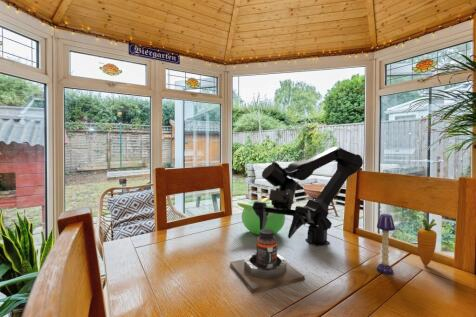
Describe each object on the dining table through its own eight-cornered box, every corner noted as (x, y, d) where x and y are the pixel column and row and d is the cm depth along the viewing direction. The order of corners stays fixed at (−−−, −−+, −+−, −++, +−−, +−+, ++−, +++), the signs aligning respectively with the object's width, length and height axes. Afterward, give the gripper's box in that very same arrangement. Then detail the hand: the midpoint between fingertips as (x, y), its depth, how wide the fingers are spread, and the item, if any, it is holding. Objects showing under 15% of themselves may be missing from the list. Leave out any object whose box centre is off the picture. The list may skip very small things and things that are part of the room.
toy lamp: (371, 268, 79) (373, 213, 78) (382, 265, 81) (384, 212, 80) (386, 275, 75) (388, 218, 74) (397, 272, 77) (399, 216, 75)
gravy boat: (290, 231, 111) (291, 197, 109) (273, 245, 96) (274, 206, 95) (253, 224, 120) (253, 192, 119) (232, 236, 106) (232, 200, 105)
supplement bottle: (276, 274, 73) (276, 235, 73) (255, 272, 75) (255, 233, 74) (277, 264, 79) (277, 228, 79) (257, 263, 81) (257, 226, 80)
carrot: (432, 263, 82) (434, 216, 81) (438, 270, 77) (440, 221, 76) (413, 260, 84) (415, 214, 83) (418, 268, 79) (420, 219, 78)
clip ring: (272, 257, 85) (272, 249, 84) (293, 273, 74) (293, 265, 74) (239, 263, 80) (239, 255, 80) (256, 282, 70) (256, 273, 69)
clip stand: (274, 256, 88) (274, 253, 87) (304, 279, 73) (304, 276, 73) (230, 265, 81) (230, 261, 81) (252, 292, 67) (252, 288, 67)
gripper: (254, 178, 90) (239, 218, 81) (309, 181, 81) (299, 227, 72) (263, 196, 97) (250, 234, 89) (314, 201, 88) (306, 245, 80)
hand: (274, 235), depth 82 cm, fingers open, 9 cm apart
